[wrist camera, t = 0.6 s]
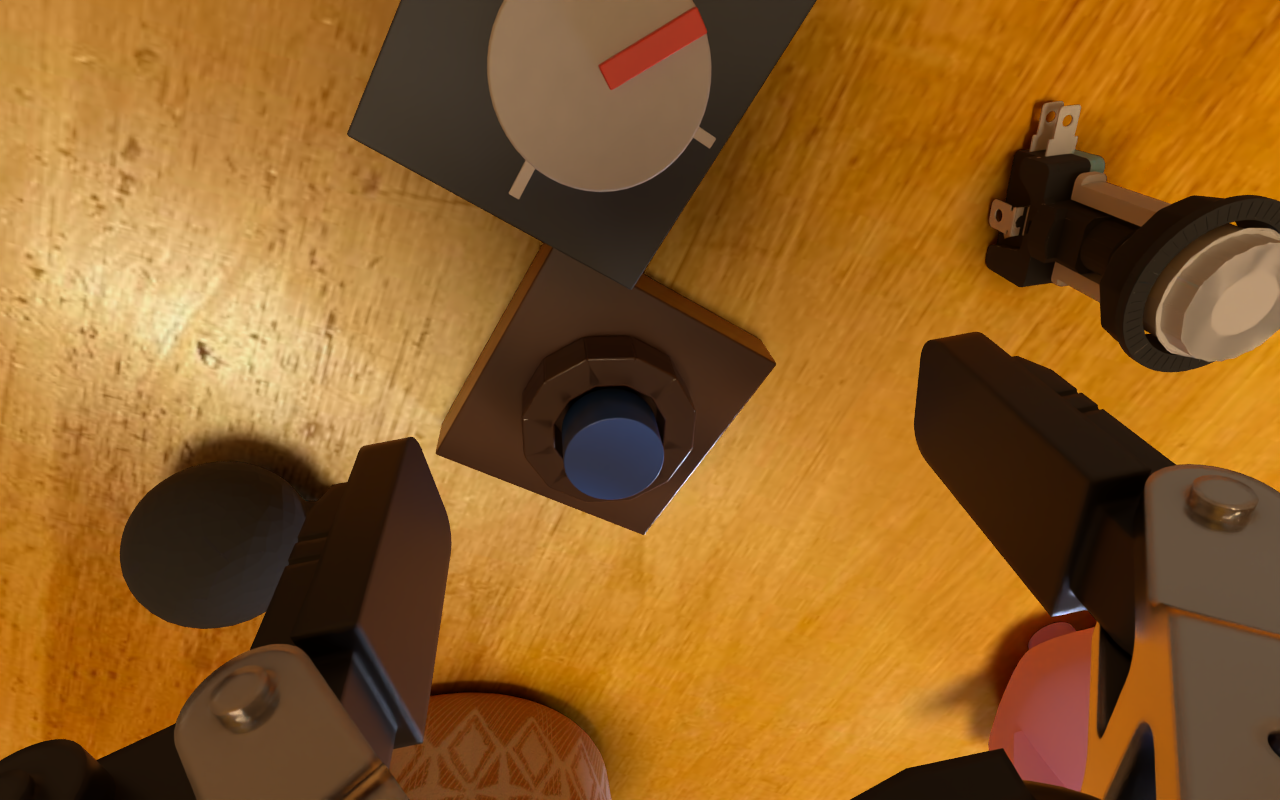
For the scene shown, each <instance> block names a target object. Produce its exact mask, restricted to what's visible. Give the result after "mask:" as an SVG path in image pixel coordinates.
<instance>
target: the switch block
mask: <svg viewBox="0 0 1280 800" xmlns="http://www.w3.org/2000/svg"><path fill="white" fill-rule="evenodd" d="M775 366H776V363H775V361H774V359H773V358H772V356H771V355H770V353H769V352H768V350H767V349H766V347H765V346H764V344H763V342H762V341H761V340H760V339H758V338H756V337H755V336H753V335H751V334H749V333H747V332H746V331H744V330H742V329H740V328H738V327H737V326H735V325H733V324H731V323H730V322H728V321H726V320H724V319H722V318H721V317H719V316H717V315H715V314H713V313H712V312H710V311H708V310H706V309H705V308H703V307H701V306H699V305H697V304H696V303H694V302H692V301H690V300H688V299H687V298H685V297H683V296H681V295H679V294H678V293H676V292H674V291H672V290H671V289H669V288H667V287H665V286H663V285H662V284H660V283H658V282H656V281H654V280H653V279H651V278H649V277H647V276H646V275H644V274H642V275H641V276H640V278H639V279H638V281H637V283H636V284H635V286H634V287H633V289H632V290H630V289H628V288H626V287H624V286H623V285H621V284H619V283H617V282H615V281H613V280H612V279H610V278H608V277H606V276H604V275H602V274H601V273H599V272H597V271H595V270H593V269H591V268H590V267H588V266H586V265H584V264H582V263H580V262H579V261H577V260H575V259H573V258H571V257H569V256H568V255H566V254H564V253H562V252H560V251H558V250H557V249H555V248H553V247H551V246H549V245H547V244H546V243H543V245H542V246H541V248H540V250H539V252H538V254H537V255H536V257H535V259H534V261H533V262H532V264H531V266H530V268H529V270H528V271H527V273H526V275H525V277H524V278H523V280H522V282H521V284H520V286H519V287H518V289H517V291H516V293H515V295H514V296H513V298H512V300H511V302H510V303H509V305H508V307H507V309H506V311H505V312H504V314H503V316H502V318H501V320H500V321H499V323H498V325H497V327H496V328H495V330H494V332H493V334H492V336H491V337H490V339H489V341H488V343H487V345H486V346H485V348H484V350H483V352H482V353H481V355H480V357H479V359H478V361H477V362H476V364H475V366H474V368H473V369H472V371H471V373H470V375H469V377H468V378H467V380H466V382H465V384H464V386H463V387H462V389H461V391H460V393H459V394H458V396H457V398H456V400H455V402H454V403H453V405H452V407H451V409H450V411H449V412H448V414H447V416H446V418H445V419H444V421H443V423H442V426H441V430H440V435H439V439H438V444H437V449H436V454H437V455H439V456H442V457H444V458H447V459H450V460H452V461H455V462H457V463H460V464H462V465H465V466H468V467H470V468H473V469H475V470H478V471H480V472H483V473H486V474H488V475H491V476H493V477H496V478H498V479H501V480H504V481H506V482H509V483H511V484H514V485H516V486H519V487H522V488H524V489H527V490H529V491H532V492H534V493H537V494H540V495H542V496H545V497H547V498H550V499H552V500H555V501H557V502H560V503H563V504H565V505H568V506H570V507H573V508H575V509H578V510H581V511H583V512H586V513H588V514H591V515H593V516H596V517H599V518H601V519H604V520H606V521H609V522H611V523H614V524H617V525H619V526H622V527H624V528H627V529H629V530H632V531H635V532H637V533H640V534H642V535H644V534H645V533H646V532H647V531H648V529H649V528H650V527H651V525H652V524H653V523H654V521H655V520H656V519H657V518H658V516H659V515H660V514H661V512H662V511H663V510H664V509H665V507H666V506H667V505H668V503H669V502H670V501H671V500H672V498H673V497H674V496H675V494H676V493H677V492H678V491H679V489H680V488H681V487H682V485H683V484H684V483H685V482H686V480H687V479H688V478H689V476H690V475H691V474H692V473H693V471H694V470H695V469H696V467H697V466H698V465H699V463H700V462H701V461H702V460H703V458H704V457H705V456H706V454H707V453H708V452H709V451H710V449H711V448H712V447H713V445H714V444H715V443H716V442H717V440H718V439H719V438H720V436H721V435H722V434H723V433H724V431H725V430H726V429H727V427H728V426H729V425H730V424H731V422H732V421H733V420H734V418H735V417H736V416H737V415H738V413H739V412H740V411H741V409H742V408H743V407H744V406H745V404H746V403H747V402H748V400H749V399H750V398H751V396H752V395H753V394H754V393H755V391H756V390H757V389H758V387H759V386H760V385H761V384H762V382H763V381H764V380H765V378H766V377H767V376H768V375H769V373H770V372H771V371H772V369H773V368H774V367H775ZM601 389H622V390H626V391H629V392H632V393H634V394H636V395H638V396H639V397H641V398H642V399H643V400H644V401H645V402H646V403H647V404H648V405H649V406H650V408H651V409H652V411H653V413H654V416H655V419H656V423H657V426H658V430H659V434H660V437H661V441H662V444H663V449H664V462H663V466H662V469H661V471H660V473H659V475H658V476H657V478H656V479H655V480H654V481H653V482H652V483H651V484H650V485H649V486H648V487H647V488H645V489H644V490H643V491H641V492H639V493H637V494H635V495H633V496H630V497H626V498H622V499H615V500H606V499H599V498H594V497H591V496H589V495H586V494H584V493H583V492H581V491H580V490H578V489H577V488H576V487H575V486H574V485H573V484H572V483H571V482H570V480H569V479H568V477H567V475H566V473H565V469H564V463H563V446H562V424H563V420H564V417H565V415H566V413H567V411H568V410H569V409H570V407H571V406H572V405H573V404H574V403H575V402H576V401H577V400H579V399H580V398H581V397H583V396H585V395H587V394H589V393H591V392H594V391H597V390H601Z"/></svg>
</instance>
